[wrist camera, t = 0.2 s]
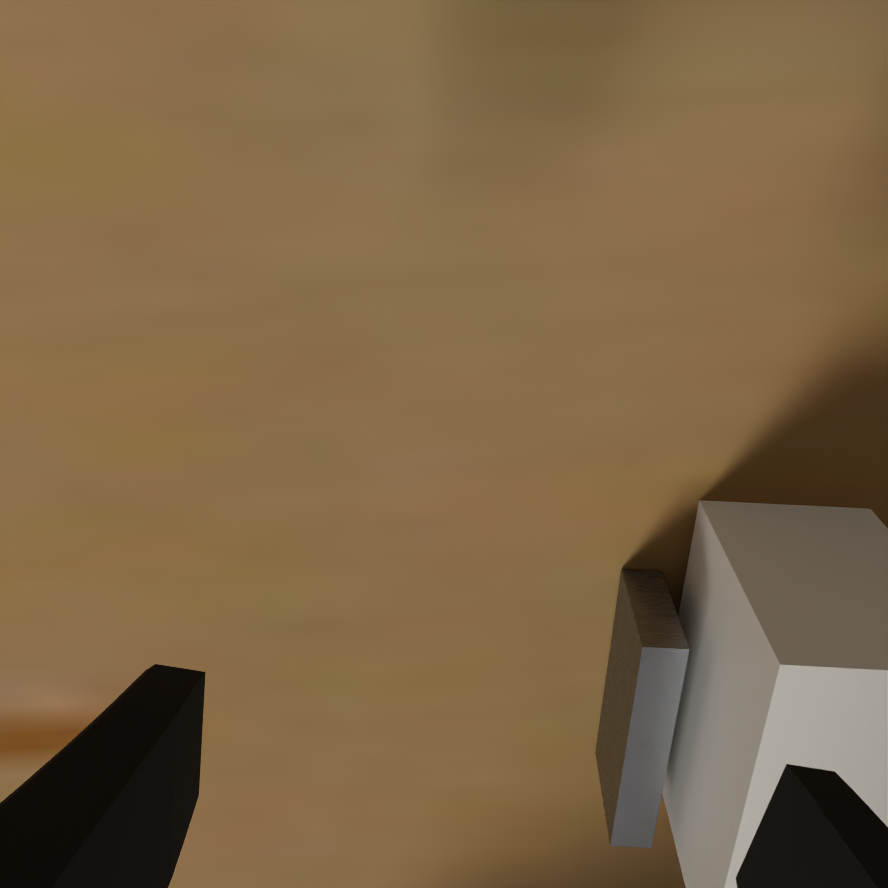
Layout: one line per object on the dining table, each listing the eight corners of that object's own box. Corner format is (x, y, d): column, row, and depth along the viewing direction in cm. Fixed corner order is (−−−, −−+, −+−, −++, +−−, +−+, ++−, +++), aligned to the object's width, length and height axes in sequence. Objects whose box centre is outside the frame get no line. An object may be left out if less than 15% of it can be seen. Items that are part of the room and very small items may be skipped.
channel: (858, 768, 23) (909, 863, 20) (595, 752, 23) (610, 845, 20) (917, 584, 20) (985, 664, 18) (621, 569, 20) (642, 646, 18)
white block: (798, 760, 23) (896, 977, 18) (652, 752, 23) (704, 965, 18) (869, 507, 20) (1016, 677, 14) (698, 498, 20) (780, 664, 14)
